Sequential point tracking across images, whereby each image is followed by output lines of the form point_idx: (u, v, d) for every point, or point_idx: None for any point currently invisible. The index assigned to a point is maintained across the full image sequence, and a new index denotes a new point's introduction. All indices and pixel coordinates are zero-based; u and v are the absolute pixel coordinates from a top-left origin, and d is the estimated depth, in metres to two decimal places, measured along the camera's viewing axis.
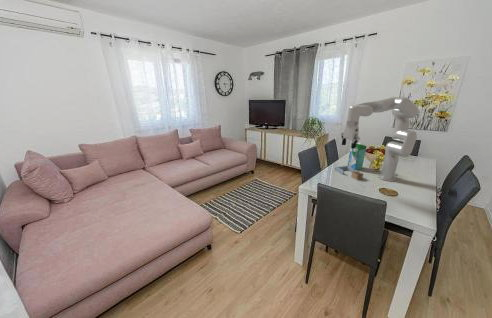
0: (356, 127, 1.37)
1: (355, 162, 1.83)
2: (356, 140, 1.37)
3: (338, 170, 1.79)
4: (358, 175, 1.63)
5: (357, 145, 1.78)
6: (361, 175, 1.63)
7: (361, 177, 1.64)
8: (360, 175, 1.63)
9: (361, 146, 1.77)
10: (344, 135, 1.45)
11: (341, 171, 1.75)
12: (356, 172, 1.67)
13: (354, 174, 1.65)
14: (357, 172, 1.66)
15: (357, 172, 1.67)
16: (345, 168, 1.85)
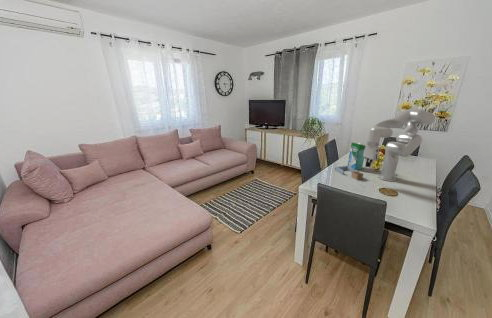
0: (377, 148, 1.45)
1: (355, 162, 1.83)
2: (371, 160, 1.50)
3: (338, 170, 1.79)
4: (358, 175, 1.63)
5: (357, 145, 1.78)
6: (361, 175, 1.63)
7: (361, 177, 1.64)
8: (360, 175, 1.63)
9: (361, 146, 1.77)
10: (364, 154, 1.54)
11: (341, 171, 1.75)
12: (356, 172, 1.67)
13: (354, 174, 1.65)
14: (357, 172, 1.66)
15: (357, 172, 1.67)
16: (345, 168, 1.85)
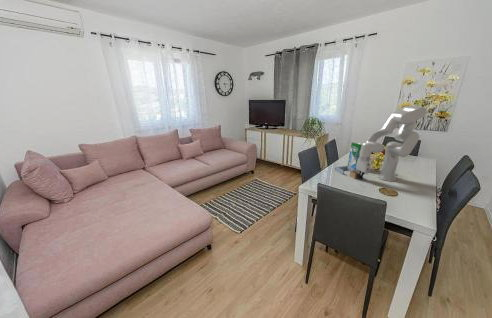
0: (368, 162, 1.54)
1: (355, 162, 1.83)
2: (363, 173, 1.58)
3: (338, 170, 1.79)
4: (356, 174, 1.64)
5: (357, 145, 1.78)
6: None
7: None
8: (358, 174, 1.65)
9: None
10: (357, 167, 1.63)
11: (341, 171, 1.75)
12: (354, 171, 1.69)
13: (352, 173, 1.67)
14: (355, 171, 1.68)
15: (355, 171, 1.69)
16: (345, 168, 1.85)
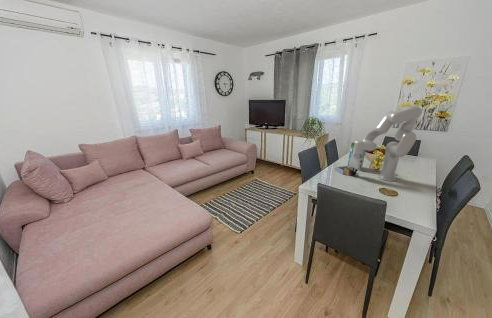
0: (361, 159, 1.61)
1: None
2: (356, 169, 1.65)
3: (338, 170, 1.79)
4: (349, 171, 1.71)
5: None
6: None
7: None
8: (351, 171, 1.72)
9: None
10: (350, 164, 1.70)
11: (341, 171, 1.75)
12: (348, 168, 1.76)
13: (346, 170, 1.74)
14: (349, 168, 1.75)
15: (349, 168, 1.75)
16: None
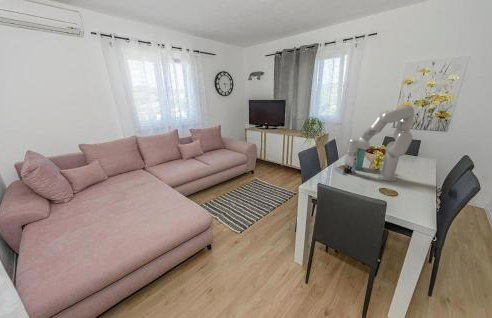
0: (355, 157, 1.67)
1: None
2: (351, 167, 1.71)
3: (338, 170, 1.79)
4: (345, 168, 1.77)
5: None
6: None
7: None
8: None
9: None
10: (345, 162, 1.75)
11: (341, 171, 1.75)
12: (343, 165, 1.81)
13: (341, 167, 1.79)
14: (344, 166, 1.80)
15: (344, 165, 1.81)
16: None
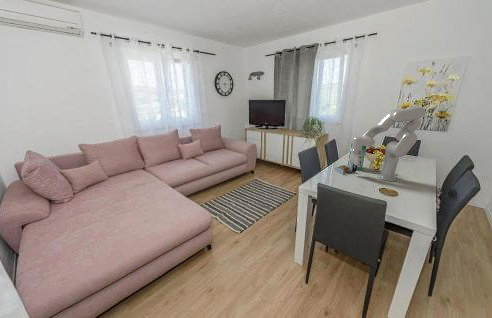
0: (360, 155, 1.62)
1: None
2: (356, 165, 1.66)
3: (338, 170, 1.79)
4: (345, 168, 1.77)
5: None
6: (347, 168, 1.78)
7: (348, 170, 1.78)
8: (346, 168, 1.77)
9: None
10: (350, 161, 1.71)
11: (341, 171, 1.75)
12: (343, 165, 1.81)
13: (341, 168, 1.79)
14: (344, 166, 1.80)
15: (344, 165, 1.81)
16: None
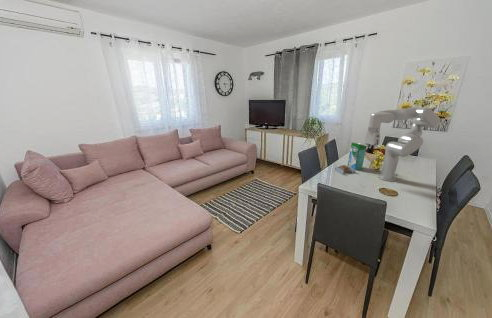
0: (377, 133, 1.46)
1: (355, 162, 1.83)
2: (372, 145, 1.50)
3: (338, 170, 1.79)
4: (345, 168, 1.77)
5: (357, 145, 1.78)
6: (347, 168, 1.78)
7: (348, 170, 1.78)
8: (347, 168, 1.77)
9: (361, 146, 1.77)
10: (366, 140, 1.55)
11: (341, 171, 1.75)
12: (343, 165, 1.81)
13: (341, 168, 1.79)
14: (344, 166, 1.80)
15: (344, 165, 1.81)
16: None
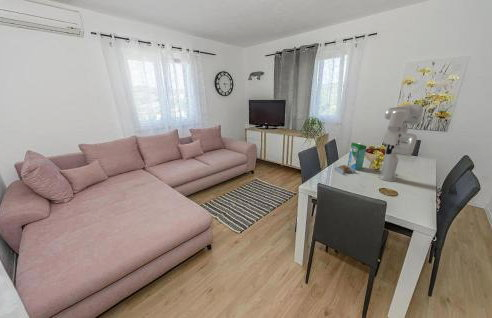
0: (399, 132, 1.33)
1: (355, 162, 1.83)
2: (393, 146, 1.37)
3: (338, 170, 1.79)
4: (345, 168, 1.77)
5: (357, 145, 1.78)
6: (347, 168, 1.78)
7: (348, 170, 1.78)
8: (347, 168, 1.77)
9: (361, 146, 1.77)
10: (384, 140, 1.41)
11: (341, 171, 1.75)
12: (343, 165, 1.81)
13: (341, 168, 1.79)
14: (344, 166, 1.80)
15: (344, 165, 1.81)
16: None
